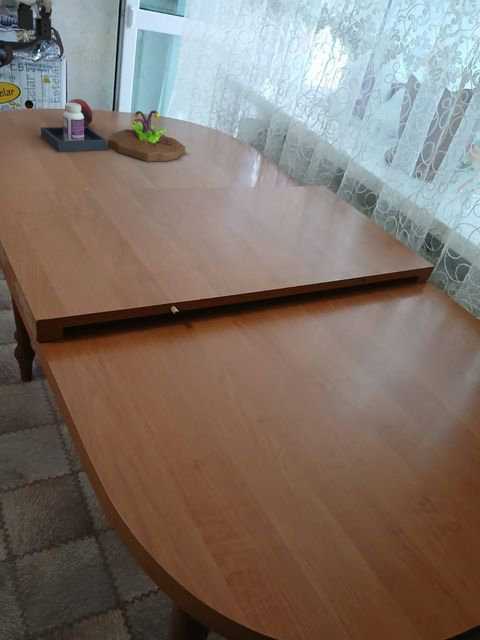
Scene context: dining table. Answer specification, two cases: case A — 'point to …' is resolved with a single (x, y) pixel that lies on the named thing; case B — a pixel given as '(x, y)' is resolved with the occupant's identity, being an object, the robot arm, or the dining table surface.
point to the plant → (146, 141)
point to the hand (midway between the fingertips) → (34, 34)
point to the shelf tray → (89, 143)
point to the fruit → (84, 111)
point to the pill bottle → (73, 122)
